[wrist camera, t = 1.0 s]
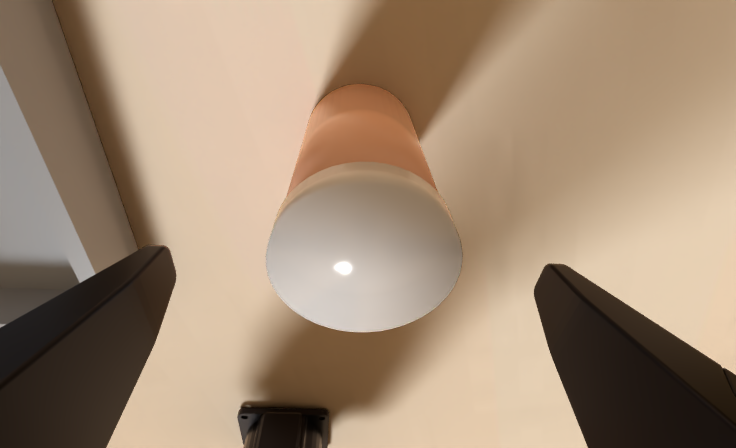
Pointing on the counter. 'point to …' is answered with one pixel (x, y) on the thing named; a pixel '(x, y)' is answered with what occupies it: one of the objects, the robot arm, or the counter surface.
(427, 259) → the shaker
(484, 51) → the counter surface
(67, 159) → the tray
